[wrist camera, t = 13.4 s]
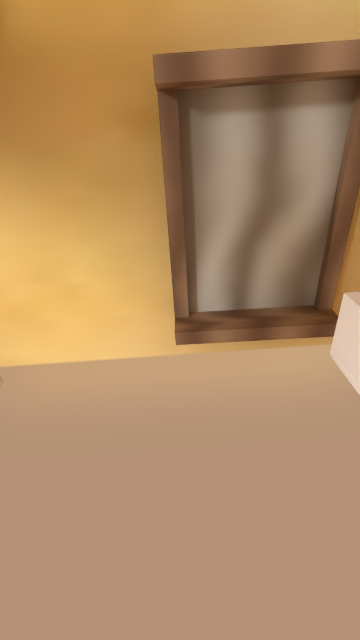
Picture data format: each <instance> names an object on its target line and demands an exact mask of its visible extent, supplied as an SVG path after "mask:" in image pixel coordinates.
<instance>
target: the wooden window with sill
mask: <svg viewBox="0 0 360 640" xmlns="http://www.w3.org/2000/svg"><path fill="white" fill-rule="evenodd" d="M153 64H154V77H155V85H156V88H157V92H158V104H159V117H160V130H161V143H162V156H163V169H164V182H165V195H166V208H167V220H168V233H169V246H170V259H171V272H172V285H173V298H174V311H175V339H176V345H183V344H201V343H220V342H238V341H256V340H274V339H292V338H310V337H328V336H334V333H335V329H336V325H337V320H338V316H337V314H336V313H335V312H334V311H333V310H332V309H331V308H332V304H333V300H334V295H335V291H336V286H337V282H338V278H339V273H340V269H341V264H342V260H343V255H344V251H345V247H346V242H347V238H348V233H349V229H350V225H351V220H352V216H353V211H354V207H355V202H356V198H357V194H358V189H359V185H360V40H346V41H332V42H319V43H305V44H292V45H278V46H264V47H251V48H237V49H224V50H210V51H197V52H183V53H169V54H156V55H153Z"/></svg>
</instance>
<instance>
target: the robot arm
mask: <svg viewBox="0 0 360 640" xmlns="http://www.w3.org/2000/svg"><path fill="white" fill-rule="evenodd" d="M330 356H331V357H332V359H333V360H334V361H335V363H336V364H337V365H338V367H339V368H340V369H341V371H342V372H343V373H344V375H345V376H346V377H347V379H348V380H349V381H350V383H351V384H352V385H353V387H354V388H355V389H356V391H357V392H358V393H359V394H360V291H358V292H346V293H344V295H343V299H342V303H341V308H340V312H339V316H338V320H337V325H336V329H335V333H334V337H333V342H332V346H331V350H330ZM2 382H3V381H2V379H1V377H0V385H1V383H2Z"/></svg>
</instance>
